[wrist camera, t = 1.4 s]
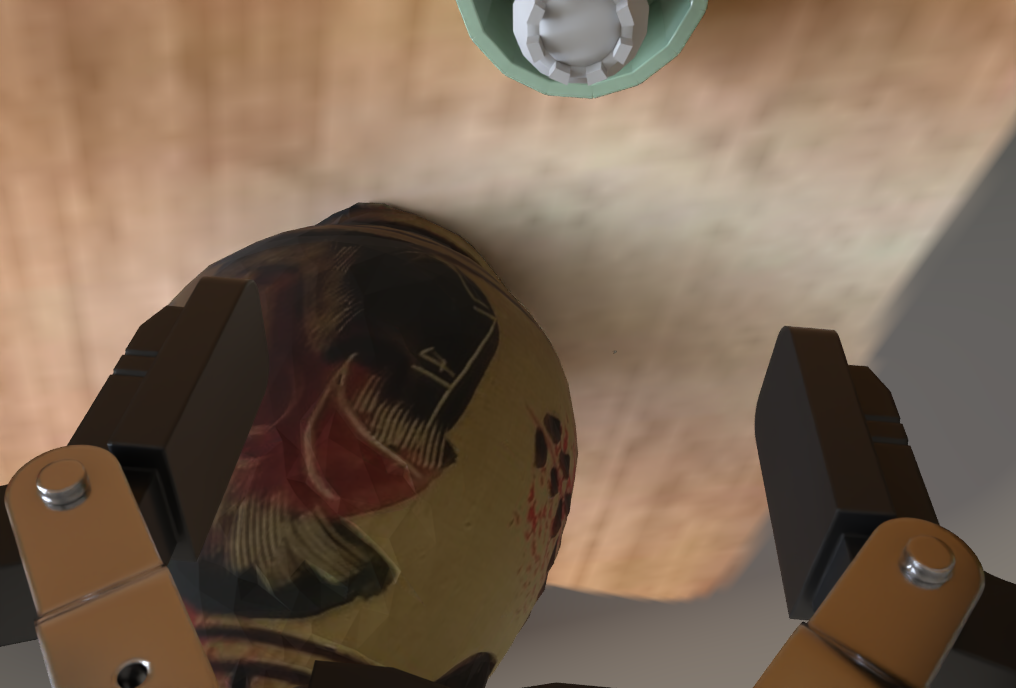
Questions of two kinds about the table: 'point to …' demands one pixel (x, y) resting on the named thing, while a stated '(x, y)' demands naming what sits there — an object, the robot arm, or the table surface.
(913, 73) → the table surface
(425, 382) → the ceramic jug
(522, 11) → the rook chess piece
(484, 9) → the cup
